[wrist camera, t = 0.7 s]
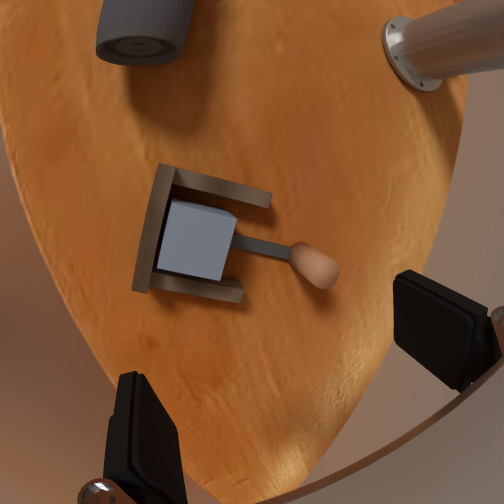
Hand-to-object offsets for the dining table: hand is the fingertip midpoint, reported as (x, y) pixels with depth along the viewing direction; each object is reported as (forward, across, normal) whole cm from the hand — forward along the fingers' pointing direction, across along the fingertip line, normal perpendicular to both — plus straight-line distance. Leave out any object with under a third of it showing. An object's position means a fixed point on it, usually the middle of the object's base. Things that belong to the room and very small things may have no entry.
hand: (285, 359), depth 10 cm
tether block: (+25, -4, +3) cm, 25 cm away
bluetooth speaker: (+25, -2, -30) cm, 39 cm away
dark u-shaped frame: (+25, 0, +1) cm, 25 cm away
